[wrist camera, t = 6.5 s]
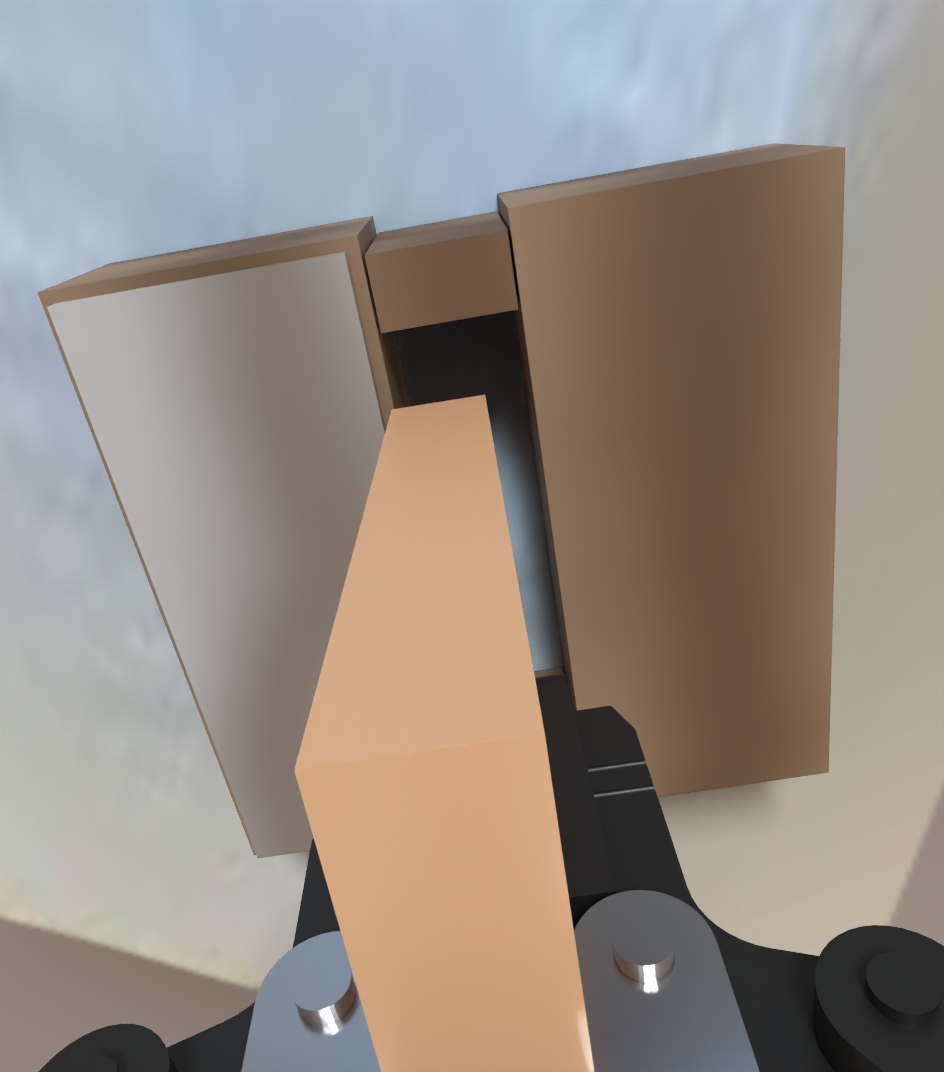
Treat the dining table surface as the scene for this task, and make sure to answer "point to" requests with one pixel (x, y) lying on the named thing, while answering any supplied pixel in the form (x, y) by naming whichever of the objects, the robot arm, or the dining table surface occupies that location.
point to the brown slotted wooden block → (557, 435)
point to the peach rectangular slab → (442, 772)
